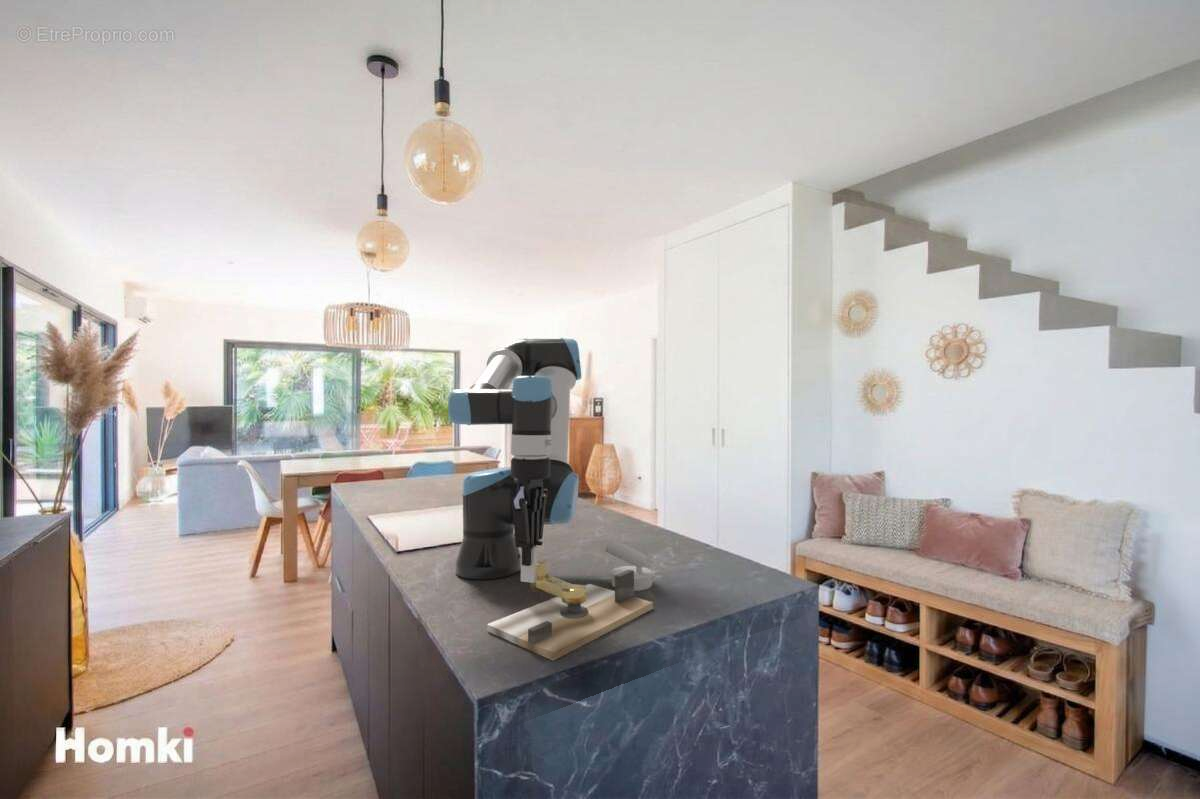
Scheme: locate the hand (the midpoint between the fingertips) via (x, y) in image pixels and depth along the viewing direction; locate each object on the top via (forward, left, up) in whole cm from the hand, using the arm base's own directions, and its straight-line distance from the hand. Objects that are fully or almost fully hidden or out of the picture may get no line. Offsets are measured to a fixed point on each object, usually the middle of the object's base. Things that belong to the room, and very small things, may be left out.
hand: (528, 580), depth 100 cm
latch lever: (+6, +2, -2) cm, 6 cm away
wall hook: (+7, +22, -5) cm, 24 cm away
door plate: (+11, +1, -5) cm, 12 cm away
